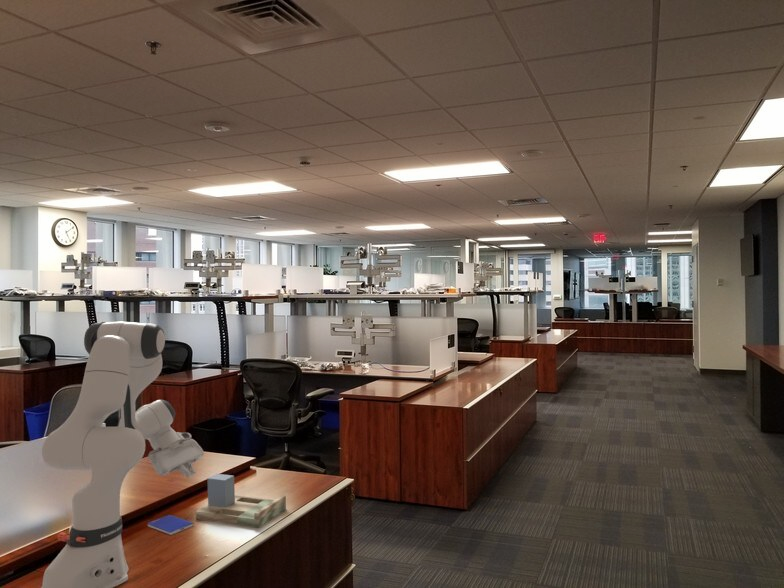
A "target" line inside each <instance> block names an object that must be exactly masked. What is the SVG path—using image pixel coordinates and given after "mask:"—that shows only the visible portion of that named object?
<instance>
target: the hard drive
mask: <svg viewBox="0 0 784 588" xmlns="http://www.w3.org/2000/svg"><path fill="white" fill-rule="evenodd" d="M194 524H195V523H194V522H192V521H188V520H185V519H182V518H180V517H177V516H175V515H172V514H168V515H166V516H165V515H164V516H162V517H160V518H157V519H155V520H152V521H149V522H148V523H147V527H148V528H152V529H154V530H157V531H159V532H162V533H165V534H167V535H170V536H171V535H172V536H173V535H174V534H177V533H179V532H181V531H184V530H186V529H187V530H188V529H189V528H192V527H193V526H194Z"/></svg>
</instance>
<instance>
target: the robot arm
mask: <svg viewBox="0 0 784 588" xmlns="http://www.w3.org/2000/svg"><path fill="white" fill-rule="evenodd" d="M165 342H166V338H165V332H164V329H163V328H162V327H161V326H159V325H158V324H156V323H152V322H151V323H150V322H147V323H141V322H134V321H133V322H131V321H108V322H106V321H100V322H95V323H92V324H90V326H88V328H87V329H86V331H85V333H84V337H83V345H84V349H85V350H86V352H87V353H88V354H87V355H88V359H87V362H86V366H85V370H84V374H83V375H84V376H83V379H82V385H81V390H80V393H79V397H78V400H77V403H76V405H75V407H74V409H73V410H72V412H71V414H70V415H69V416H68V418H67V419H66V420H65V421H64V422H63V423H62V424H61V425H60V426H59V427H58V428H56V429H55V430H53V431H52V432H50V433H49V434H48V435H47V437H46V438H45V440H44V442H43V444H42V449H41V456H42V459H43V461H44V463H45V464H46V465H47V466H48V467H50V468H53V469H58V470H63V471H91V479H90V481H89V482H88V483H87V482H86V484H84V485H82V486H81V487H80V488H78V489H77V490H76V492H75V493H74V494H73V496H72V499H71V508H72V509H71V516H72V525H71V527H70V529H69V532H63V531H62V532H60V533H58V535H57V541H59V542H66V544H65V546H64V547H63V548H62V549H61V550H60V552H59V553H58V554H57V556H56V557H55V558H54V559H53V560H52V561H51V563H49V565H48V566H47V568H46V569H45V571H44V573H43V577H42V586H41V587H40V588H115V587H117V586H119V585H121V584H123V583H125V582H127V581H128V580H129V576H128V572H129V566H128V564H127V560H126V556H125V553H124V552H125V551H124V547H123V546H124V545H123V540H122V533H123V519H122V516H121V507H120V506H121V491H122V490H121V489H122V486H123V482H124V480H125V478H126V477H127V475H128V473H129V472H130V471H131V470H132V469H133V468H134V467H135V466H137V465H138V464H139V463H140V461H141V460H142V458H143V457H144V455H145V451H146V440H148V442H149V444H150V446H151V448H152V450H150V451H149V453H148V455H147V456H148V459H149V460H150V463H151V465H152V467H153V468H154V470H155V472H156V474H157V475H159V476H160V477H164V476H165V475H166V476H167V475H168V474H170V473H172V472H175V471H178V472H179V473H180V474H183V475H184V476H185V477H186V478H187V479H188V478H190V477H193V476H195V474H197V472H196V470H195V469H194V464H193V463H195V462H198V461H199V460H201V459H202V458H203V456H204V455H205V453H204V449H203V448H202V447H201V445H200V444H199V443H198V442H197V441H196V440H195V439H193V438H192V434H191V433H189V432H179V431H177V432H176V431H175V430H174V429H173V428H172V427H171V425H172V424H173V423H174V421H175V417H176V410H175V409H174V407H173V406H172V405H171V403H170V402H169V401H167V400H164V399H157V400H155V401H152V402H151V403H148V404H144V405H141V406H140V407H139V408H138V409H137V410H136V401H137V398H138V397H139V396H140V394H141V393H142V392H143V391H144V390H145V389H146V388H147V387H148V386H149V385H151V383H154V382H155V380H156V379H157V378H158V377H159V375H160V374H161V372H162V369H163V357H162V353H163V351H164V349H165ZM116 412H118V413H117V414H118V416H117V419H118V421H117V425H116V426H103V424H104V422H105V421H106V419H108V417H109V416H111V415H112V414H114V413H116Z"/></svg>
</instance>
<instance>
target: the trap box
mask: <svg viewBox="0 0 784 588" xmlns="http://www.w3.org/2000/svg"><path fill="white" fill-rule="evenodd" d="M286 498H287V497H286V495H285V494H283V495H280V496H277V498H275V499H268V498H267V499H266V498H258V497H251V496H245V495H243V496H241V495H236V494H235V502H234V503H233V504H231V505H229V506H227V507H226V508H225V507H217V506H210V505H208V504H206V505H205V506H203V507H201V508H199V509H197V510H195V519H196V520H200V521H201V520H203V521H209V522H214V523H215V522H217V523H223V524H229V525H230V524H231V525H237V526H243V527H251V528H256V529H257V528H258V529H259V528H261V527H262V526H264V525H266V524H267V523H268V522H269V521H271V520H272V519H274V518H275V517H277V516H279V514H282V511H283V512H284V511H285V510H286V509H287V499H286Z"/></svg>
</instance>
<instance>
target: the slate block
mask: <svg viewBox="0 0 784 588" xmlns="http://www.w3.org/2000/svg"><path fill="white" fill-rule="evenodd" d="M206 480H207V481H206V482H207V505H210V506H217V507H225V508H226V507H227V506H229V505H231V504H233V503H234V502H235V495H236V494H235V493H236V492H235V475H230V474H222V473H215V474H214V475H212V476H209V477H207V479H206Z"/></svg>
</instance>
